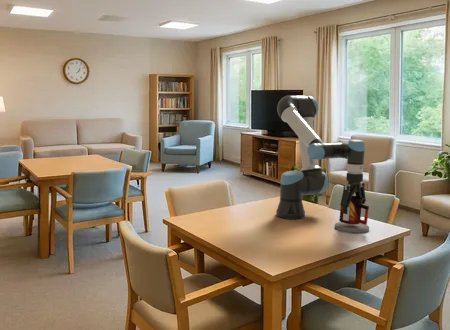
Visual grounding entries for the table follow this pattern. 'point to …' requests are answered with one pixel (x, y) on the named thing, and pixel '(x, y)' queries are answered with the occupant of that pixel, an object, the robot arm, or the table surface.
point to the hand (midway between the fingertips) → (352, 218)
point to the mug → (355, 212)
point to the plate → (352, 227)
